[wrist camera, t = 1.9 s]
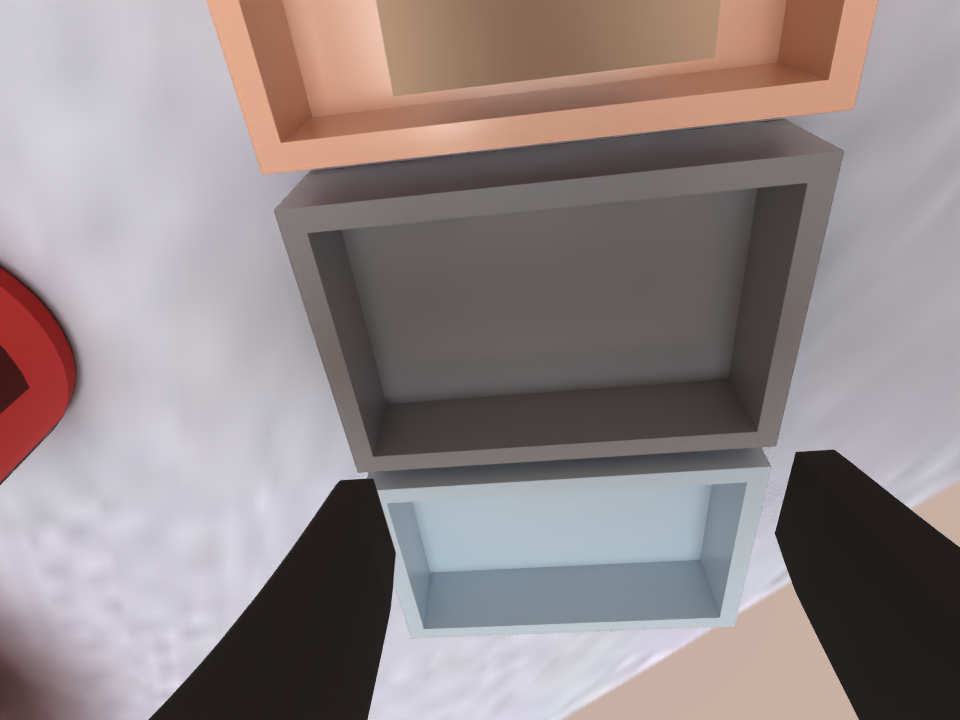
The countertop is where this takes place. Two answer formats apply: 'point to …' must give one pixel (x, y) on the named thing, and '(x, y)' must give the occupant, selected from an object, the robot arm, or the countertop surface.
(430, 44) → the letter cube
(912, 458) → the countertop surface
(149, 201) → the countertop surface
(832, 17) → the dish terracotta
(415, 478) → the dish blue
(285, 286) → the countertop surface
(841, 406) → the countertop surface
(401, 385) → the dish charcoal
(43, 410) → the canned food
